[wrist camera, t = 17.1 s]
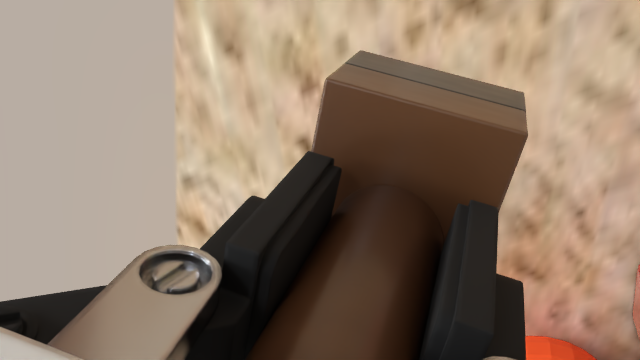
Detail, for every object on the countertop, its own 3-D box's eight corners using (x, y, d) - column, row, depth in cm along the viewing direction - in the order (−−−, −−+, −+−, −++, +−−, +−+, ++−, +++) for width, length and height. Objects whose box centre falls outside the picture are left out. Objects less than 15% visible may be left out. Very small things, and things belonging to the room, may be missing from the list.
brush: (359, 49, 14) (159, 211, 6) (525, 92, 13) (551, 343, 5) (316, 250, 16) (138, 547, 8) (450, 295, 16) (392, 665, 8)
